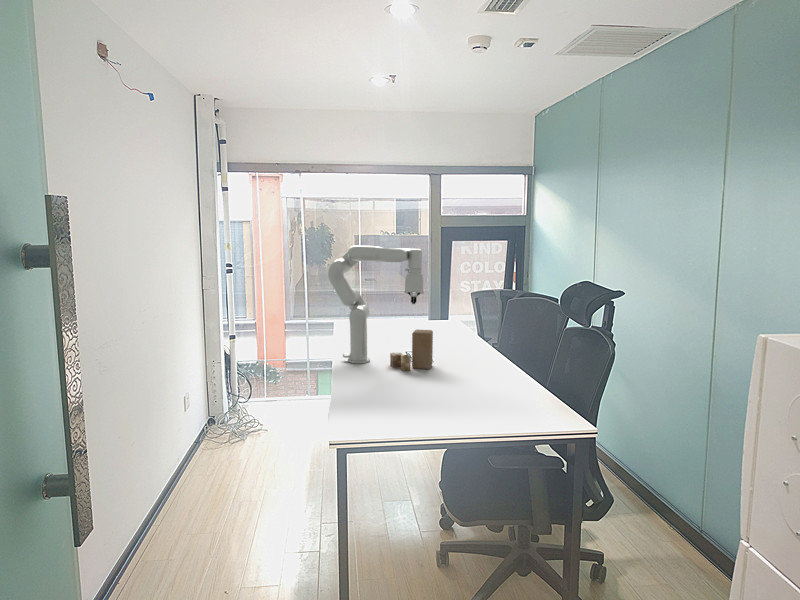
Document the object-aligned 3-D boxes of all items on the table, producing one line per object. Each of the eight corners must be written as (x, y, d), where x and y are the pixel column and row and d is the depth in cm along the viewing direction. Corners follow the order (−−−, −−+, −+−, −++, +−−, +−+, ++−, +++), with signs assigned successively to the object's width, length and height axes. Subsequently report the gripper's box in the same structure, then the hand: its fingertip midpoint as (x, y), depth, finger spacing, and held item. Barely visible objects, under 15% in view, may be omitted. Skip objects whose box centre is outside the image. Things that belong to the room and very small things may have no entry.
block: (429, 369, 302) (430, 333, 300) (411, 368, 304) (411, 332, 302) (432, 365, 312) (433, 329, 309) (414, 364, 314) (415, 329, 311)
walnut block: (392, 368, 306) (392, 355, 305) (390, 365, 312) (390, 352, 311) (403, 367, 307) (403, 354, 306) (400, 364, 313) (400, 352, 312)
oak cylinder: (401, 371, 299) (401, 356, 298) (401, 368, 304) (401, 354, 303) (410, 371, 299) (410, 356, 298) (410, 368, 304) (410, 354, 303)
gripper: (400, 271, 307) (399, 304, 310) (428, 272, 307) (426, 305, 309) (401, 270, 315) (400, 302, 317) (428, 271, 314) (427, 303, 316)
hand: (413, 303), depth 313 cm, fingers closed
